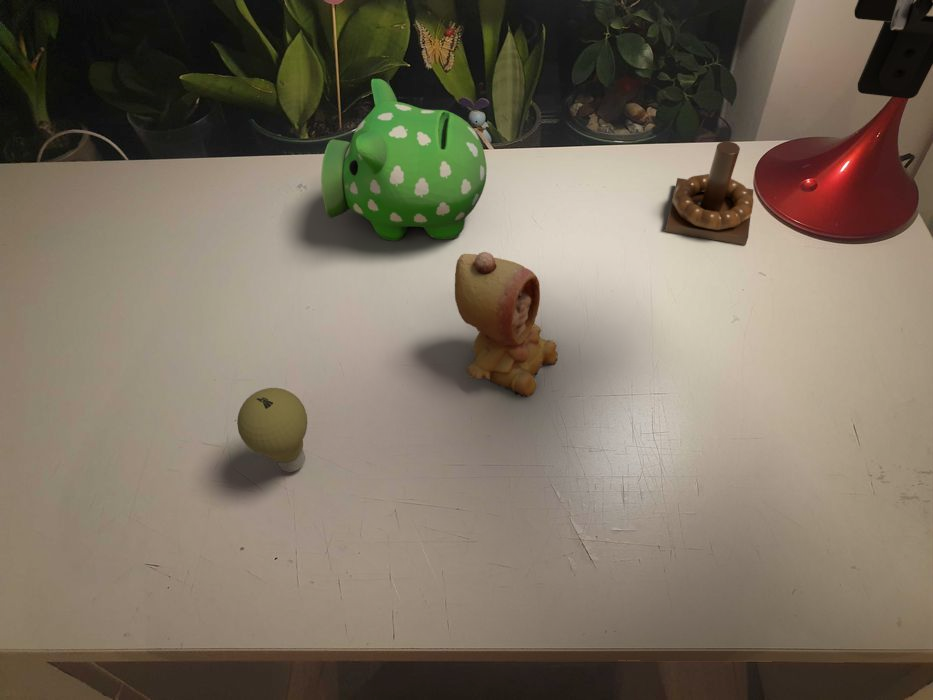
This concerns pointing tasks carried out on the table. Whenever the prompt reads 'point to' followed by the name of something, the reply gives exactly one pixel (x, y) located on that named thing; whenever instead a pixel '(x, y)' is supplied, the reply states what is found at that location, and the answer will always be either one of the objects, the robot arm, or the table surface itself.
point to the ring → (707, 217)
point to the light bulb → (274, 426)
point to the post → (713, 200)
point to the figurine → (502, 321)
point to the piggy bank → (406, 169)
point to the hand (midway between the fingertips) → (881, 53)
